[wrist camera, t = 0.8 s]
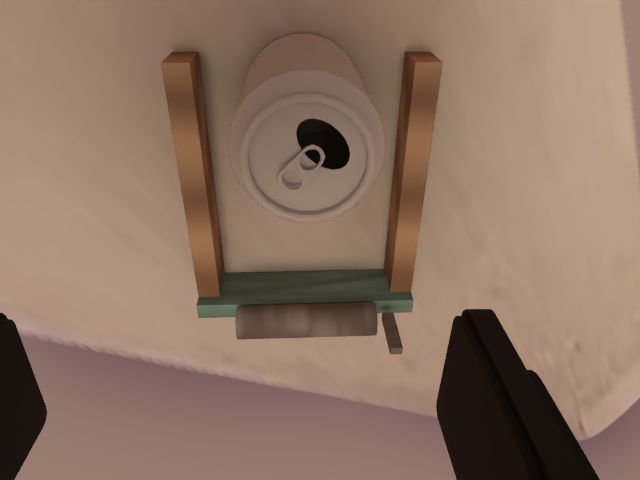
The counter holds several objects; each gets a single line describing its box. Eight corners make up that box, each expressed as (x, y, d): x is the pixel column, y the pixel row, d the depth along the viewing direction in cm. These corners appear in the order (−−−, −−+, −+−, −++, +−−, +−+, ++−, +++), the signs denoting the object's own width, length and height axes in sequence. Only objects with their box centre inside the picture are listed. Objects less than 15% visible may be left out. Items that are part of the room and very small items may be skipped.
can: (383, 91, 32) (425, 163, 22) (303, 166, 34) (309, 262, 24) (301, 2, 29) (307, 38, 19) (221, 92, 31) (188, 167, 21)
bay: (172, 52, 30) (134, 89, 23) (430, 51, 31) (473, 87, 23) (207, 291, 40) (188, 370, 33) (400, 286, 41) (424, 362, 33)
